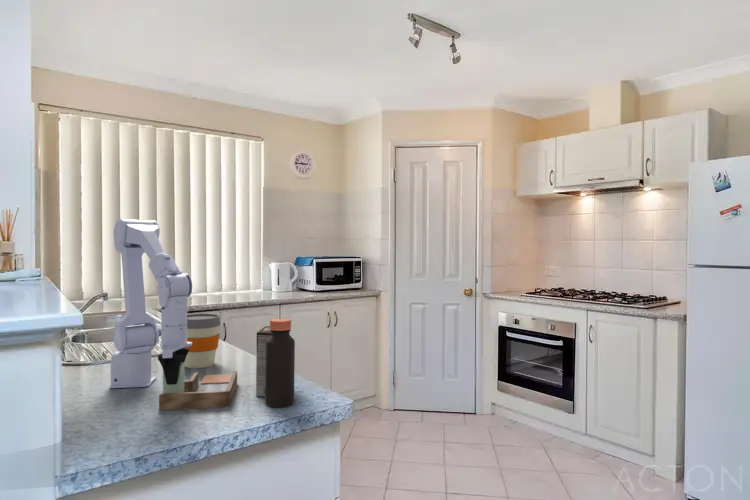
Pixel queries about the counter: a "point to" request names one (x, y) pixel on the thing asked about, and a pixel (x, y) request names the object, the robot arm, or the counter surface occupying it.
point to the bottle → (280, 365)
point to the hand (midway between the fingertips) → (174, 381)
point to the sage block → (180, 383)
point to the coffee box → (261, 360)
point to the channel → (198, 396)
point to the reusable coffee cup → (202, 339)
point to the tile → (216, 379)
